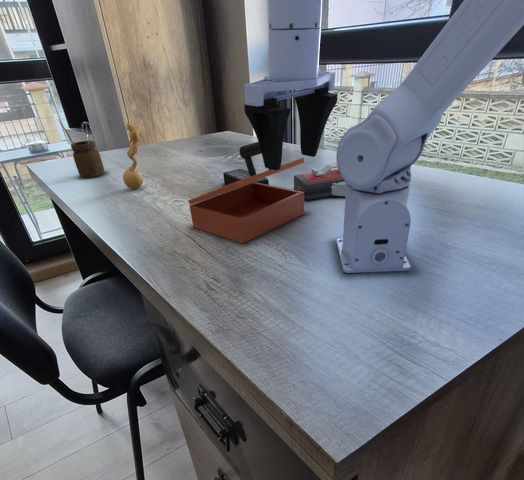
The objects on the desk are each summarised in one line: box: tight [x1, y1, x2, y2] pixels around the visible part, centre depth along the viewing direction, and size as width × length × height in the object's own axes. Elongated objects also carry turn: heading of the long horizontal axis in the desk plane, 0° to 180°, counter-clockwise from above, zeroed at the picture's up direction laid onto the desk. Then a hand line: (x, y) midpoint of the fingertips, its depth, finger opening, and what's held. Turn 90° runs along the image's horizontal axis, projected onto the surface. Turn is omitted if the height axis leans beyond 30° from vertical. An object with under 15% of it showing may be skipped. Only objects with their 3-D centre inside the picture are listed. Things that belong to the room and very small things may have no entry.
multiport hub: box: [222, 168, 270, 188], centre depth 76 cm, size 4×11×2 cm, turn 32°
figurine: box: [122, 122, 144, 190], centre depth 78 cm, size 8×6×12 cm
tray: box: [189, 182, 305, 244], centre depth 62 cm, size 11×14×4 cm
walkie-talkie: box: [293, 162, 346, 201], centre depth 70 cm, size 9×4×20 cm
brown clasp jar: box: [58, 119, 105, 179], centre depth 89 cm, size 6×6×12 cm
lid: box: [188, 141, 306, 206], centre depth 58 cm, size 12×14×5 cm
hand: (291, 161), depth 51 cm, fingers open, 7 cm apart
